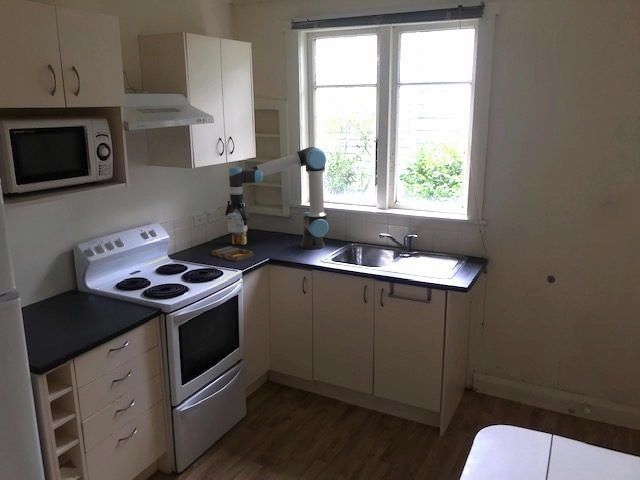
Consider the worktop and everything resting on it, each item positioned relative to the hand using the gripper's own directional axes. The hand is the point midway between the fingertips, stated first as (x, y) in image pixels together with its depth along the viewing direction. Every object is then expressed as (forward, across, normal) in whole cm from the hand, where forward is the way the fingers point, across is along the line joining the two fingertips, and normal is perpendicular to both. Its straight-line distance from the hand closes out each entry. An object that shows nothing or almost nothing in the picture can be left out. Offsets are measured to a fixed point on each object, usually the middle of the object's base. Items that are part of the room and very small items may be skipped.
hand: (237, 229), depth 334 cm
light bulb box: (+2, 0, 0) cm, 2 cm away
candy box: (+18, -24, +22) cm, 37 cm away
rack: (+17, -6, 0) cm, 18 cm away
